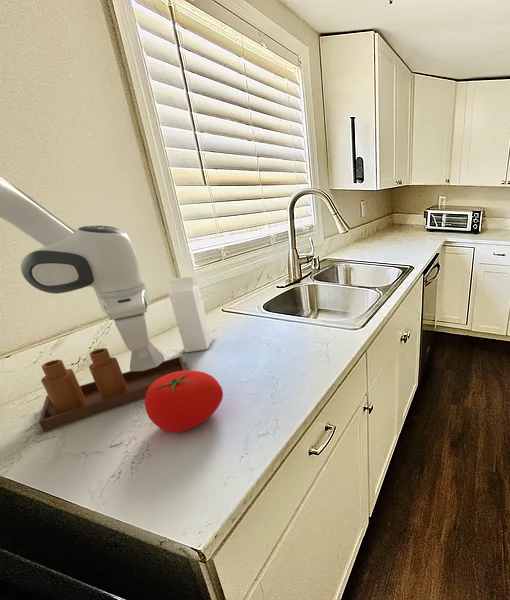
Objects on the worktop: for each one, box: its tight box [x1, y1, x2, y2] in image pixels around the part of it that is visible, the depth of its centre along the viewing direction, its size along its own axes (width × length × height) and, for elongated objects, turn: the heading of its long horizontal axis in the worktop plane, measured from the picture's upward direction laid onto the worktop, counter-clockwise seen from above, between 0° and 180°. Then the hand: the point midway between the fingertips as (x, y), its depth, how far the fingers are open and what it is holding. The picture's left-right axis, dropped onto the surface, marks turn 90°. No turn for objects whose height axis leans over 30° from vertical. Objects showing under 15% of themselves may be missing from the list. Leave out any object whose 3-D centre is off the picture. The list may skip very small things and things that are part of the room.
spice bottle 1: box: [40, 359, 87, 414], centre depth 71 cm, size 5×5×12 cm
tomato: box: [144, 369, 224, 434], centre depth 67 cm, size 12×14×11 cm
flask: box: [129, 340, 166, 371], centre depth 78 cm, size 7×7×10 cm
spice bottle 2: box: [88, 347, 128, 400], centre depth 75 cm, size 5×5×12 cm
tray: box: [38, 355, 187, 432], centre depth 78 cm, size 26×11×2 cm, turn 130°
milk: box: [168, 276, 213, 353], centre depth 96 cm, size 6×6×22 cm
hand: (143, 351), depth 79 cm, fingers closed on flask, 5 cm apart
